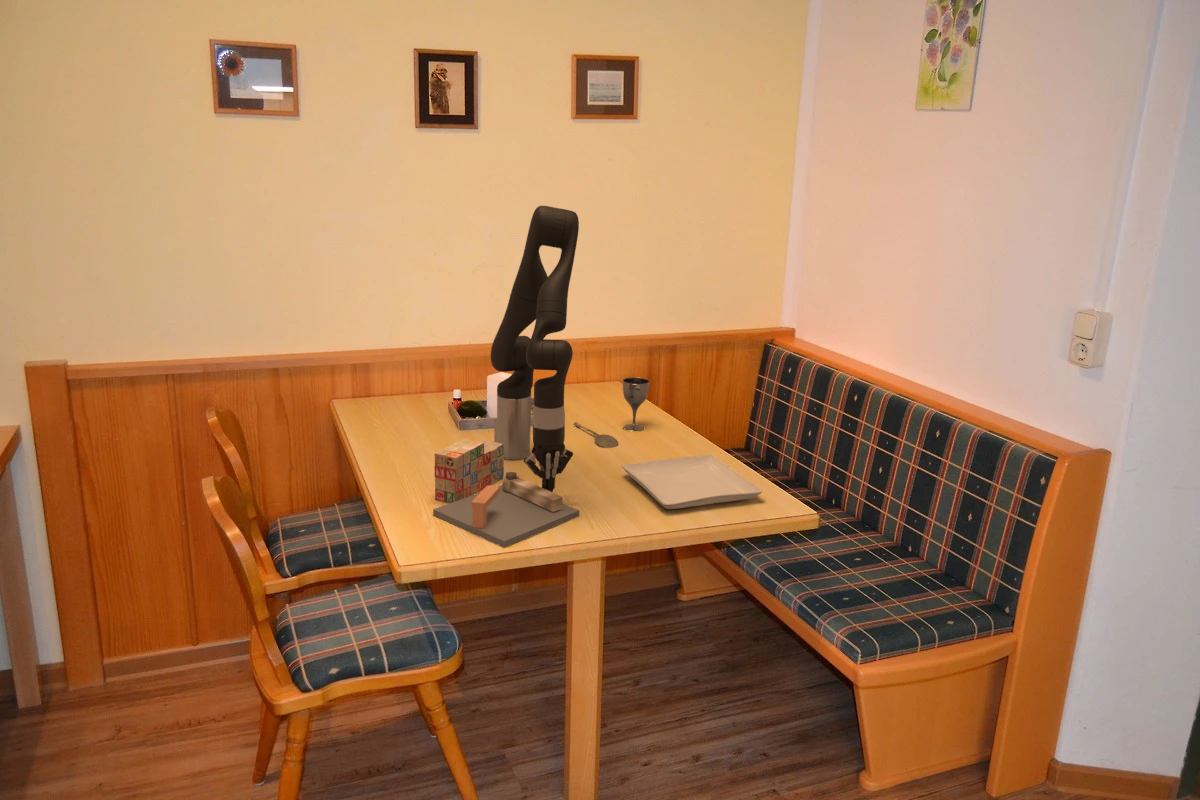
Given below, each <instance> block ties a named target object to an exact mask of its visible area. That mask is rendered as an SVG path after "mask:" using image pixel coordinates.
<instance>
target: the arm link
mask: <svg viewBox="0 0 1200 800" xmlns="http://www.w3.org/2000/svg"><path fill="white" fill-rule="evenodd" d="M502 485H503V490H504V491H506V492H511V493H513V494H515V495H517V496H519V497H521V498H524V499H526V500H528V501H530V502H532V503H534V504H537V505H539V506H541V507H543V508H545V509H548V510H550V511H552V512H554V511H557V510H560V509H562V505H563V504H564V502H563V500H564V499H563V498H564V497H563V496H562V495H559V494H558V493H555V492H554V491H553V492H551V491H548V490H546V489H544V488H542V486H539V485H537V484H535V483H533V482H530V481H528V480H526V479H523V478H521V477H520V476H519V475H517V472H514V471H507V472H506V473H505V475H504V476H503V478H502Z"/></svg>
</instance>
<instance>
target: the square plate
mask: <svg viewBox="0 0 1200 800" xmlns="http://www.w3.org/2000/svg"><path fill="white" fill-rule="evenodd" d="M621 469H623V470H624V471H625V472H626V474H627V475H628V476H629V477H631V479H633V481H635V482H636V483H637V484H639V485H640V486H641V487H642V488H643V489H644V490H645V491H647V493H648V494H649V495H651V497H652V498H653V499H654V500H655V501H656V502H658V504H660V506H661V507H663V508H665V510H666V509H667V510H676V509H677V510H678V509H684V508H691V507H698V506H707V505H715V504H721V503H729V502H736V501H744V500H745V501H746V500H750V499H753V498H755V497H757V496H759V495H761V493H763V490H762V489H761V488H759V487H758V486H757V485H755V484H754V483H753V482H751V481H750V480H748V479H747V478H746V477H744V476H743V475H741V474H740V473H739V472H737V471H736V470H735V469H733V468H731V467H730V466H729V465H727V464H725V463H724V462H723V461H721V459H719V458H716V457H715V456H714V455H710V454H709V455H697V456H684V457H673V458H665V459H655V460H647V461H641V462H635V463H634V462H632V463H626V464H621ZM714 503H715V504H714Z"/></svg>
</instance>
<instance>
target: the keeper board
mask: <svg viewBox="0 0 1200 800" xmlns="http://www.w3.org/2000/svg"><path fill="white" fill-rule="evenodd" d="M432 515H433V516H434V517H436V518H439V519H441V520H442V521H444V522H447V523H449V524H452V525H453V526H455V527H458V528H460V529H462V530H464V531H467V532H470V533H471V534H473V535H475V536H478V537H479V538H480V537H481V538H483V539H484V540H487V541H489V542H491V543H493V544H495V545H498V546H500V547H502V548H508V547H509V546H512V545H514V544H517V543H519V542H521V541H523V540H526V539H528V538H531V537H532V536H536V535H537V534H540V533H542V532H544V531H547V530H550V529H552V528H554V527H558V526H559V525H561V524H564V523H567V522H569V521H571V520H574V519H576V518H578V517H580V509H577V508H575V507H572V506H570V505H567V504H564V503H563V505H562V509H560V510H557V511H554V512H552V511H550V510H548V509H545V508H543V507H541V506H539V505H537V504H534V503H532V502H530V501H528V500H526V499H524V498H521V497H519V496H517V495H515V494H513V493H511V492H506V491H504V490H503V484H501V485H498V486H496V485H489V486H486V487H485V488H484V489H482V490H481V491H480V492H478V493H476V494H475V495H472V496H469V497H466V498H464V499H461V500H458V501H455V502H452V503H447V504H444V505H441V506H438V507H435V508H433V509H432Z"/></svg>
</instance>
